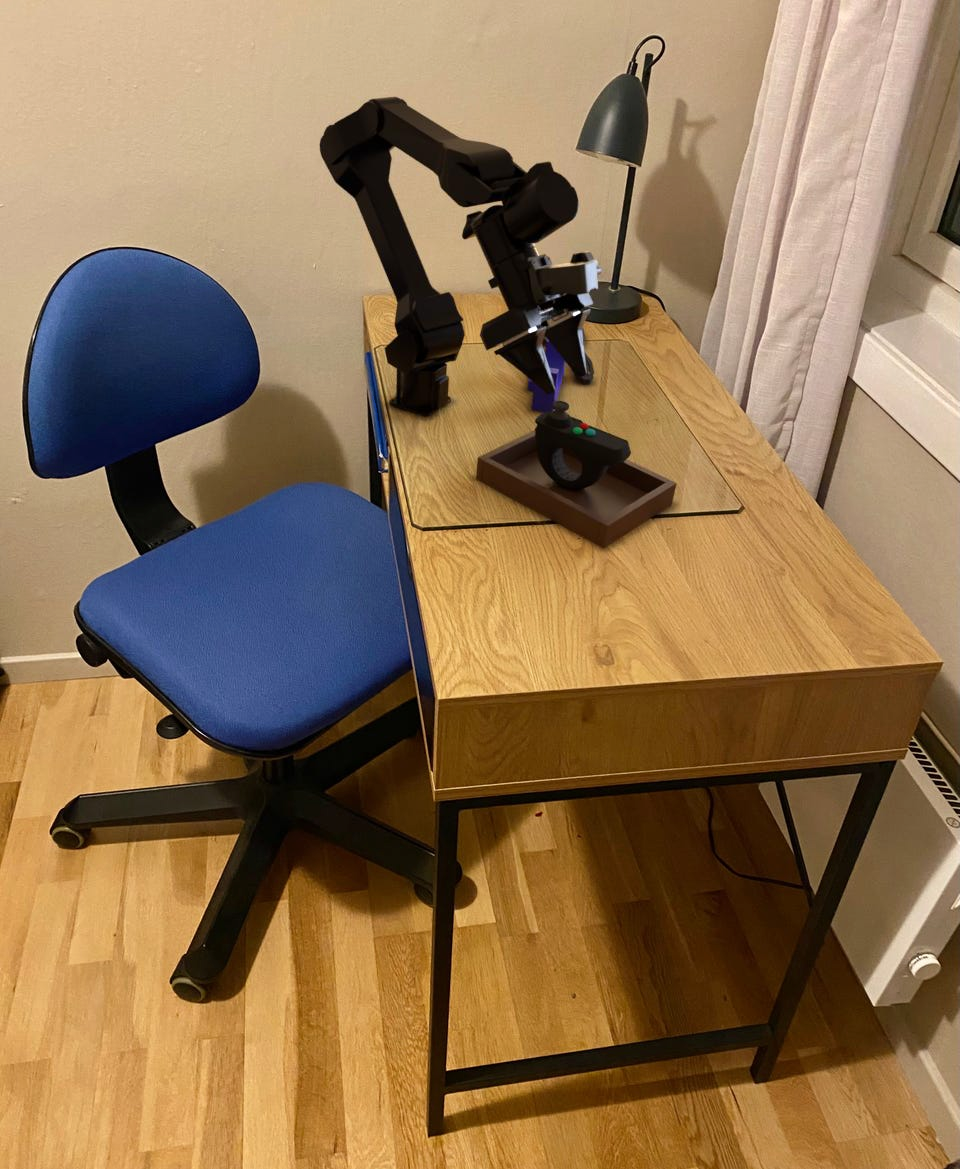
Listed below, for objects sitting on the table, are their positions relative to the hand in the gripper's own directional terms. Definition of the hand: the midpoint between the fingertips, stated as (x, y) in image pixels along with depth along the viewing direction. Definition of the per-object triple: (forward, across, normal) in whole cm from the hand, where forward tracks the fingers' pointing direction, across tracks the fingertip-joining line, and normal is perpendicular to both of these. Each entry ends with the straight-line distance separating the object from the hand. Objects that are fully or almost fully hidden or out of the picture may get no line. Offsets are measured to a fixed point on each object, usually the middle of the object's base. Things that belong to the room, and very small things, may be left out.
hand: (568, 384), depth 113 cm
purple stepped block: (0, +22, +16) cm, 27 cm away
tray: (+12, 0, +5) cm, 13 cm away
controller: (+12, 0, +5) cm, 13 cm away
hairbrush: (-4, +38, +17) cm, 42 cm away
